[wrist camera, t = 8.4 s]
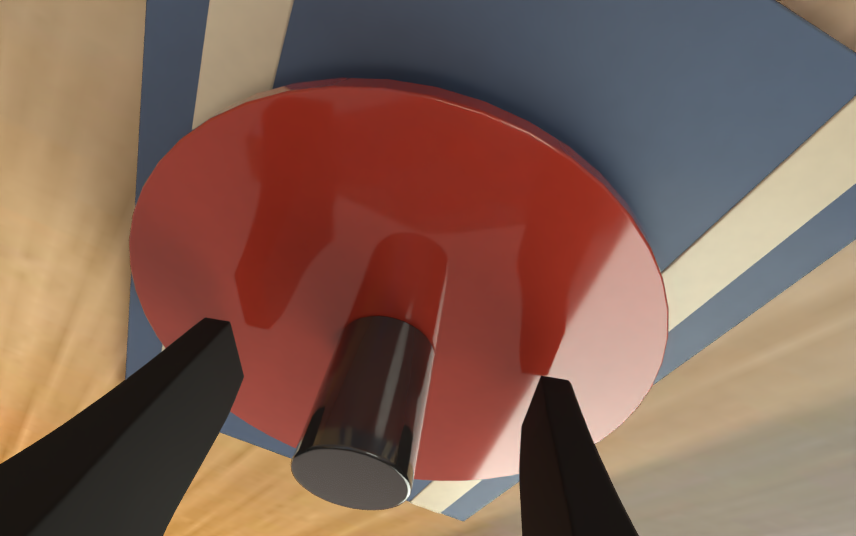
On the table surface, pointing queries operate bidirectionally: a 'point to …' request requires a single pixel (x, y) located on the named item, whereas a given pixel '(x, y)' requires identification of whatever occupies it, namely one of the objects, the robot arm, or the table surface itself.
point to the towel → (568, 128)
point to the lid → (399, 279)
